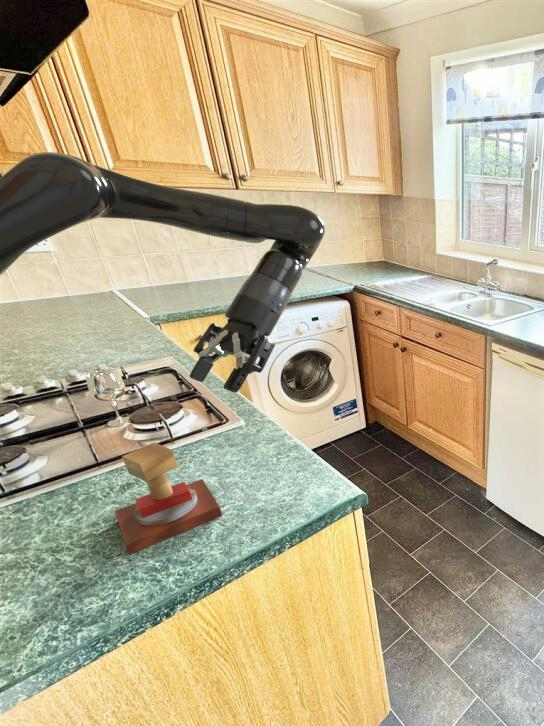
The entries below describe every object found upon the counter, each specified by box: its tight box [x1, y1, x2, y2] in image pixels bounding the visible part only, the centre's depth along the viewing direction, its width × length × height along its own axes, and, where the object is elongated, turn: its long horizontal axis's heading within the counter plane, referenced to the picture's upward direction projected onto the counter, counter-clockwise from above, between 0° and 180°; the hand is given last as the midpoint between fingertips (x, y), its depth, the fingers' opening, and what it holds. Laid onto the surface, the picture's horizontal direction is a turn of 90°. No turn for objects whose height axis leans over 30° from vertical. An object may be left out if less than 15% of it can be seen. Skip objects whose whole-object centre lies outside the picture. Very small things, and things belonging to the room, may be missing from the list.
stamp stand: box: [114, 478, 223, 555], centre depth 69 cm, size 12×10×2 cm
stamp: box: [121, 442, 198, 526], centre depth 66 cm, size 8×8×11 cm
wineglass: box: [86, 368, 130, 428], centre depth 92 cm, size 6×6×12 cm
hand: (212, 385), depth 71 cm, fingers open, 8 cm apart
